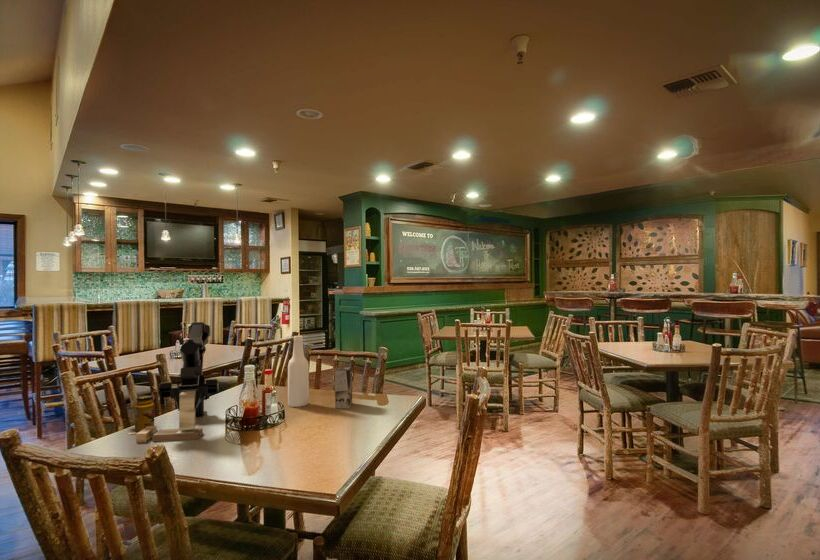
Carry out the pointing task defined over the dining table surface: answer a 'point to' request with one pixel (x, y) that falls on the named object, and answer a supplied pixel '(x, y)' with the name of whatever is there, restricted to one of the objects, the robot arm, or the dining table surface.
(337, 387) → the coffee box
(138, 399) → the condiment
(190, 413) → the birch post
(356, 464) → the dining table surface
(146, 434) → the lintel
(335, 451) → the dining table surface
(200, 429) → the flat wooden block
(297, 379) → the alcohol
